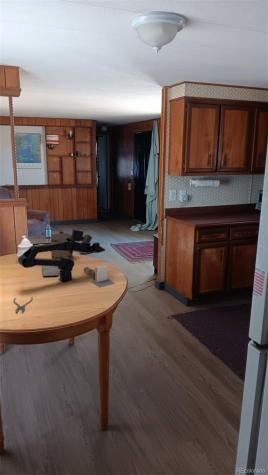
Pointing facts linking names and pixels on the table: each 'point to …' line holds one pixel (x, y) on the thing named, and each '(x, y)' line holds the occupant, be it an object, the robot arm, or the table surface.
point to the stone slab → (50, 271)
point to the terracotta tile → (101, 273)
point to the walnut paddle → (90, 272)
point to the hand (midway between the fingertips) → (100, 250)
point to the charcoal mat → (103, 283)
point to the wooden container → (58, 253)
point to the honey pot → (23, 246)
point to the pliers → (21, 306)
